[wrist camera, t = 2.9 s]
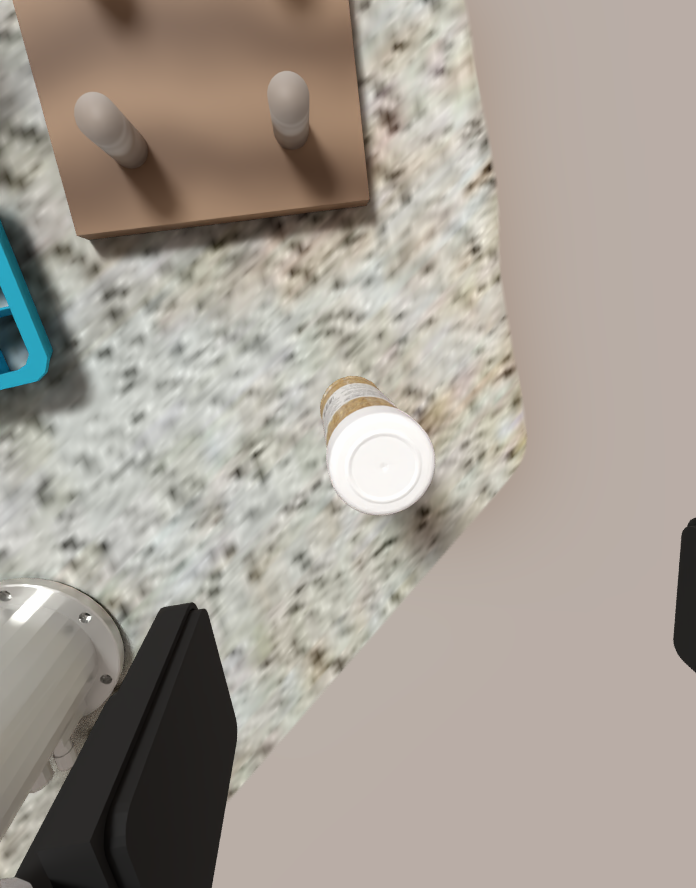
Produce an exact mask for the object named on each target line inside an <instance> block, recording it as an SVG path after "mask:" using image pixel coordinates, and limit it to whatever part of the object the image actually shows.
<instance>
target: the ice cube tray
mask: <svg viewBox="0 0 696 888" xmlns="http://www.w3.org/2000/svg"><path fill="white" fill-rule="evenodd" d="M0 286H1V289H2V291H3V293H4V296H5V298H6V300H7V303H8V305H9V306H8V307H3V308H0V318H1V317H5V316H9V315H13V317H14V319H15V322H16V324H17V327H18V329H19V331H20V334H21V336H22V339H23V341H24V343H25V346H26V348H27V350H28V353H29V356H28V360H27V363H26V365H25V366H23V367H22V368H20V369H19V370H15V371H11V372H10V370H9V367H8V365H7V363H6V361H5V358H4V356H3V354H2V351H1V349H0V390H2V389H6V388H10V387H15V386H19V385H23V384H28V383H32V382H36V381H40V380H41V378H42V377H43V376H44V375H45V374H46V373H47V372H48V368H49V362H50V358H51V355H52V352H53V349H52V346H51V344H50V341H49V339H48V336H47V334H46V332H45V329H44V327H43V324H42V322H41V319H40V317H39V314H38V312H37V309H36V307H35V304H34V302H33V299H32V297H31V294H30V292H29V290H28V287H27V285H26V282H25V280H24V277H23V275H22V272H21V270H20V267H19V265H18V262H17V260H16V257H15V255H14V252H13V250H12V248H11V245H10V243H9V240H8V238H7V235H6V233H5V230H4V228H3V225H2V223H1V220H0Z"/></svg>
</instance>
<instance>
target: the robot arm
mask: <svg viewBox="0 0 696 888" xmlns="http://www.w3.org/2000/svg"><path fill="white" fill-rule="evenodd" d="M674 626H675V627H674V638H673V640H674V646H675V649H676V651H677V653H678V655H679V656H680V658H681V659H682V660H683V661H684V662H685V663H686V664H687V665H688V666H689V667H690V668H691V669H693V671H695V672H696V518H694V519H692V520H690V522H689V523H688V526H687V527H686V528H685V529H684V530H683V532H682V536H681V550H680V562H679V575H678V588H677V600H676V613H675V625H674ZM123 664H124V645H123V641H122V638H121V635H120V632H119V630H118V628H117V626H116V625H115V623H114V621H113V619H112V618H111V617H110V616H109V614H108V613H107V612H106V611H105V610H104V609H103V608H102V607H101V606H100V605H99V604H98V603H96V602H95V601H94V600H93V599H91V598H90V597H89V596H87V595H85V594H84V593H82V592H80V591H78V590H76V589H75V588H72V587H69V586H67V585H64V584H61V583H59V582H55V581H50V580H45V579H39V578H16V579H7V580H2V581H0V842H1V840H2V838H3V837H4V835H5V833H6V832H7V830H8V828H9V827H10V825H11V823H12V821H13V820H14V818H15V816H16V815H17V813H18V811H19V809H20V808H21V806H22V804H23V803H24V801H25V799H26V797H27V796H28V794H29V793H34V792H37V791H39V790H41V789H42V788H43V787H45V786H46V785H47V784H48V783H49V782H50V780H51V779H52V777H53V774H54V771H53V769H52V767H51V764H50V762H49V758H50V756H51V755H52V753H53V757H54V760H55V762H56V764H57V767H58V769H59V770H60V771H65V770H68V769H70V768H71V767H72V766H73V767H72V769H71V770H70V772H69V774H68V776H67V778H66V780H65V782H64V784H63V786H62V787H61V789H60V791H59V793H58V795H57V797H56V799H55V801H54V803H53V805H52V806H51V808H50V810H49V812H48V814H47V816H46V818H45V820H44V822H43V824H42V825H41V827H40V829H39V831H38V833H37V835H36V837H35V839H34V841H33V843H32V844H31V846H30V848H29V850H28V852H27V854H26V856H25V858H24V860H23V861H22V863H21V865H20V867H19V869H18V871H17V873H16V875H15V877H14V878H4V879H0V888H212V882H213V876H214V870H215V865H216V859H217V853H218V848H219V841H220V836H221V830H222V824H223V818H224V812H225V807H226V801H227V795H228V789H229V783H230V778H231V772H232V766H233V760H234V754H235V748H236V742H237V722H236V717H235V713H234V710H233V706H232V702H231V698H230V694H229V691H228V687H227V683H226V679H225V676H224V672H223V668H222V664H221V661H220V657H219V653H218V649H217V645H216V642H215V638H214V634H213V630H212V627H211V623H210V619H209V615H208V612H207V611H206V609H198V608H197V606H196V605H195V603H193V602H192V603H186V604H180V605H174V606H168V607H163V608H161V609H160V611H159V612H158V614H157V616H156V618H155V620H154V622H153V624H152V626H151V628H150V630H149V632H148V634H147V636H146V637H145V639H144V641H143V643H142V645H141V647H140V649H139V651H138V653H137V655H136V657H135V659H134V661H133V663H132V665H131V667H130V669H129V671H128V673H127V675H126V677H125V679H124V681H123V682H122V684H121V686H120V688H119V690H118V692H116V693H115V694H113V695H112V696H111V697H110V698H109V700H108V701H107V703H106V704H105V706H104V708H103V710H102V712H101V713H100V715H99V717H98V719H97V721H96V723H95V725H94V727H93V729H92V731H91V732H90V734H89V736H88V738H87V740H86V742H85V744H84V746H83V748H82V750H81V751H80V753H79V755H78V753H77V751H76V748H75V746H74V743H73V742H72V741H71V738H70V737H71V735H72V734H73V732H74V730H75V728H76V726H77V725H78V723H79V721H80V719H81V718H83V717H85V716H87V715H89V714H90V713H92V712H93V711H95V710H96V709H97V708H99V707H100V706H101V705H102V704H103V703H104V702H105V701H106V699H107V698H108V697H109V696H110V694H111V693H112V691H113V689H114V687H115V686H116V684H117V682H118V680H119V677H120V675H121V673H122V670H123Z"/></svg>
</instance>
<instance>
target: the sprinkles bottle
mask: <svg viewBox="0 0 696 888" xmlns="http://www.w3.org/2000/svg"><path fill="white" fill-rule="evenodd" d="M320 409H321V410H320V412H321V418H322V420H323V429H324V436H325V442H326V447H327V454H326V460H327V467H328V472H329V476H330V480H331V483H332V485H333V487H334V489H335V491H336V493H337V494H338V495H339V497H340V498H341V499H342V500H343V501H344V502H345V503H346V504H347V505H349V506H350V507H352V508H354V509H355V510H357V511H360V512H362V513H366V514H370V515H389V514H394V513H397V512H400V511H402V510H404V509H407V508H408V507H410V506H411V505H413V504H414V503H415V502H417V501H418V500H419V499H420V498H421V497H422V496H423V494H424V493H425V492H426V490H427V489H428V487H429V485H430V483H431V481H432V478H433V475H434V470H435V453H434V449H433V445H432V442H431V440H430V438H429V436H428V435H427V433H426V432H425V431H424V429H423V428H422V427H421V426H420V425H419V424H418V423H417V422H416V421H415V420H414V419H413V418H412V417H411V416H410V415H408V414H407V413H405V412H403V411H401V410H399V409H398V408H397V407H396V406H395V405H394V404H393V403H392V402H391V401H390V400H389V399H388V398H387V397H386V396H385V395H384V394H383V393H382V392H381V391H380V390H379V389H378V388H377V387H376V386H375V385H374V384H373V383H372V382H371V381H369V380H367V379H365V378H362V377H358V376H347V377H345V378H341V379H339V380H337V381H335V382H334V383H333V384H331V385H330V386H329V387H328V389H327V390H326V391H325V394H324V395H323V398H322V401H321V405H320Z"/></svg>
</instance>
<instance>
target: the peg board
mask: <svg viewBox="0 0 696 888" xmlns="http://www.w3.org/2000/svg"><path fill="white" fill-rule="evenodd" d="M13 4H14V7H15V11H16V15H17V18H18V22H19V26H20V29H21V33H22V37H23V40H24V44H25V48H26V51H27V55H28V59H29V62H30V66H31V70H32V73H33V77H34V81H35V84H36V88H37V92H38V95H39V99H40V103H41V106H42V110H43V114H44V117H45V121H46V125H47V128H48V132H49V136H50V139H51V143H52V147H53V150H54V154H55V158H56V161H57V165H58V168H59V172H60V176H61V179H62V183H63V187H64V190H65V194H66V198H67V201H68V205H69V209H70V212H71V216H72V220H73V223H74V227H75V231H76V234H77V236H80V237H82V238H85V239H88V240H92V239H100V238H108V237H117V236H125V235H133V234H141V233H149V232H157V231H165V230H173V229H181V228H189V227H197V226H205V225H213V224H221V223H230V222H238V221H246V220H254V219H262V218H270V217H278V216H286V215H294V214H302V213H310V212H318V211H326V210H334V209H343V208H351V207H359V206H366V205H367V203H368V201H369V200H370V199H369V189H368V180H367V170H366V161H365V151H364V142H363V132H362V123H361V113H360V104H359V94H358V85H357V75H356V66H355V56H354V47H353V37H352V28H351V18H350V9H349V0H13Z"/></svg>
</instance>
